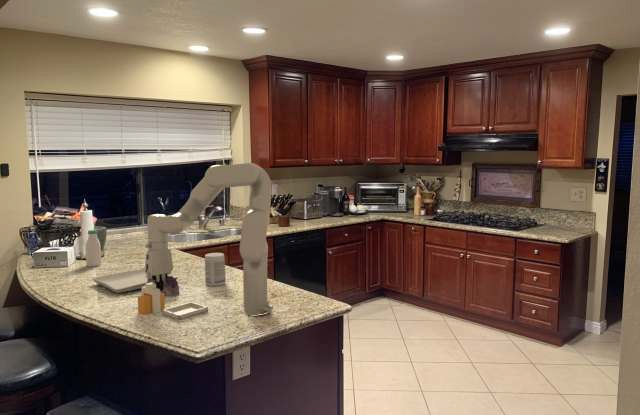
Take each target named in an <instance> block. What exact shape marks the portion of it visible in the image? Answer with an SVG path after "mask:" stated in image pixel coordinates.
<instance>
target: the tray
mask: <svg viewBox="0 0 640 415" xmlns="http://www.w3.org/2000/svg"><path fill="white" fill-rule="evenodd" d="M208 312H209V307H208V306H206V305H203V304H200V303H196V302H194V301H189V302H186V303H182V304H178V305H175V306H170V307H168V308H165V309H163V310H161V313H162V315H163V316H166V317H167V318H171V319H174V320H177V321H181V320H184V319H188V318H191V317H195V316H198V315H202V314H204V313H208Z"/></svg>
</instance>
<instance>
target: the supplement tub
mask: <svg viewBox="0 0 640 415" xmlns="http://www.w3.org/2000/svg"><path fill="white" fill-rule="evenodd" d="M225 264H226V259H225V254H224V253H222V252H211V253H207V254H205V255H204V273H205V274H204V276H205V285H207V286H208V287H216V286H217V287H219V285H220V286H223V285H225V283H226V265H225Z"/></svg>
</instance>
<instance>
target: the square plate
mask: <svg viewBox="0 0 640 415" xmlns="http://www.w3.org/2000/svg"><path fill="white" fill-rule="evenodd" d="M91 280H92V281H93V282H94V283H96V284H97V285H100V286H102V287H104V288H106V289H108V290H110V291H112V292H115V293H118V294H120V293H121V294H122V293H126V292H127V291H128V292H132V290H133V291H137V289H138V290H142V287H144V286H145V284H146V282H147V280H148V278H146V272H145V269H144V268H142V269H135V270H129V271H122V272H116V273H112V274H107V275H102V276H97V277H92V278H91ZM128 292H127V293H128Z"/></svg>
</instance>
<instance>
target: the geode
mask: <svg viewBox="0 0 640 415" xmlns="http://www.w3.org/2000/svg"><path fill="white" fill-rule="evenodd" d="M177 279H178V277H177V276H176V277H174V276H172V275H170V276H169V275H167V276H166V277H165V280H164V281H163V283H164V287H163V291H160V292H161V293H164V297H167V298H168V297H169V298H170V297H176V296H180V287H179V282H178V280H177ZM151 282H152V283H155V281H154V280H153V279H151V278H148V280H147V282H146V283H151Z"/></svg>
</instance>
